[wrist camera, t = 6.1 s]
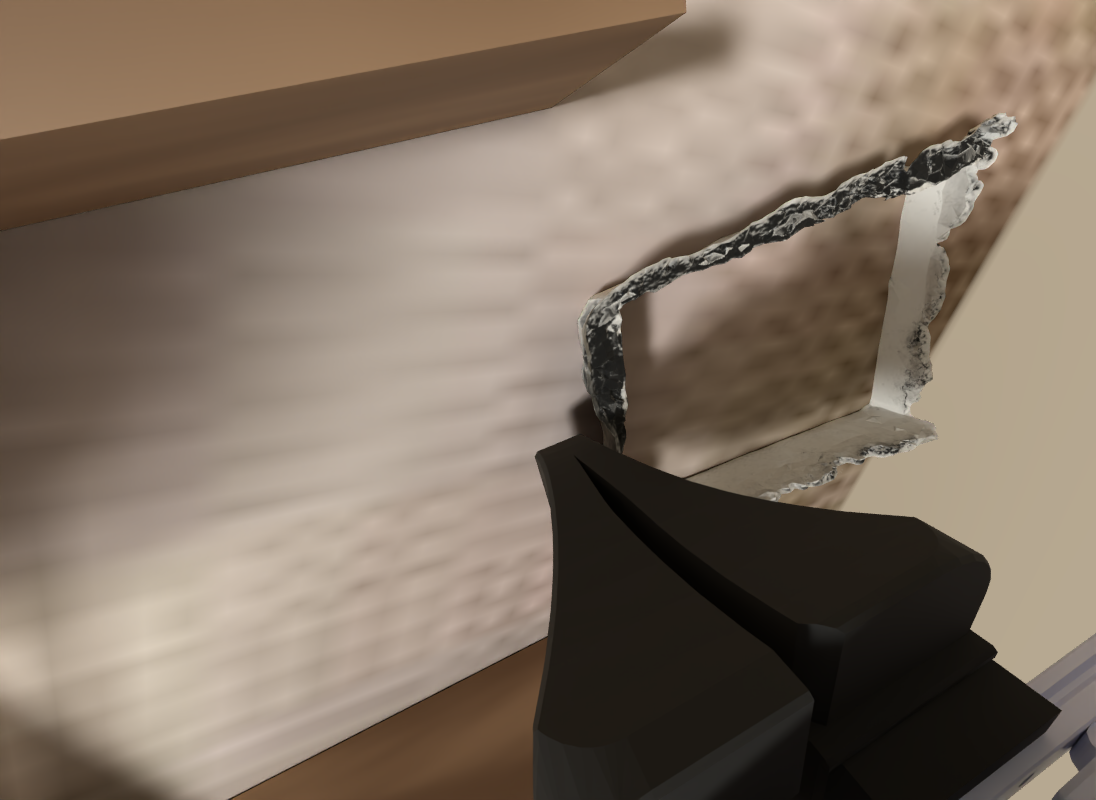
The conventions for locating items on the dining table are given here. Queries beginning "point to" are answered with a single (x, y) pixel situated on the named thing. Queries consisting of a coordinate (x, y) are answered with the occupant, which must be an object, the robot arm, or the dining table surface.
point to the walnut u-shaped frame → (285, 140)
